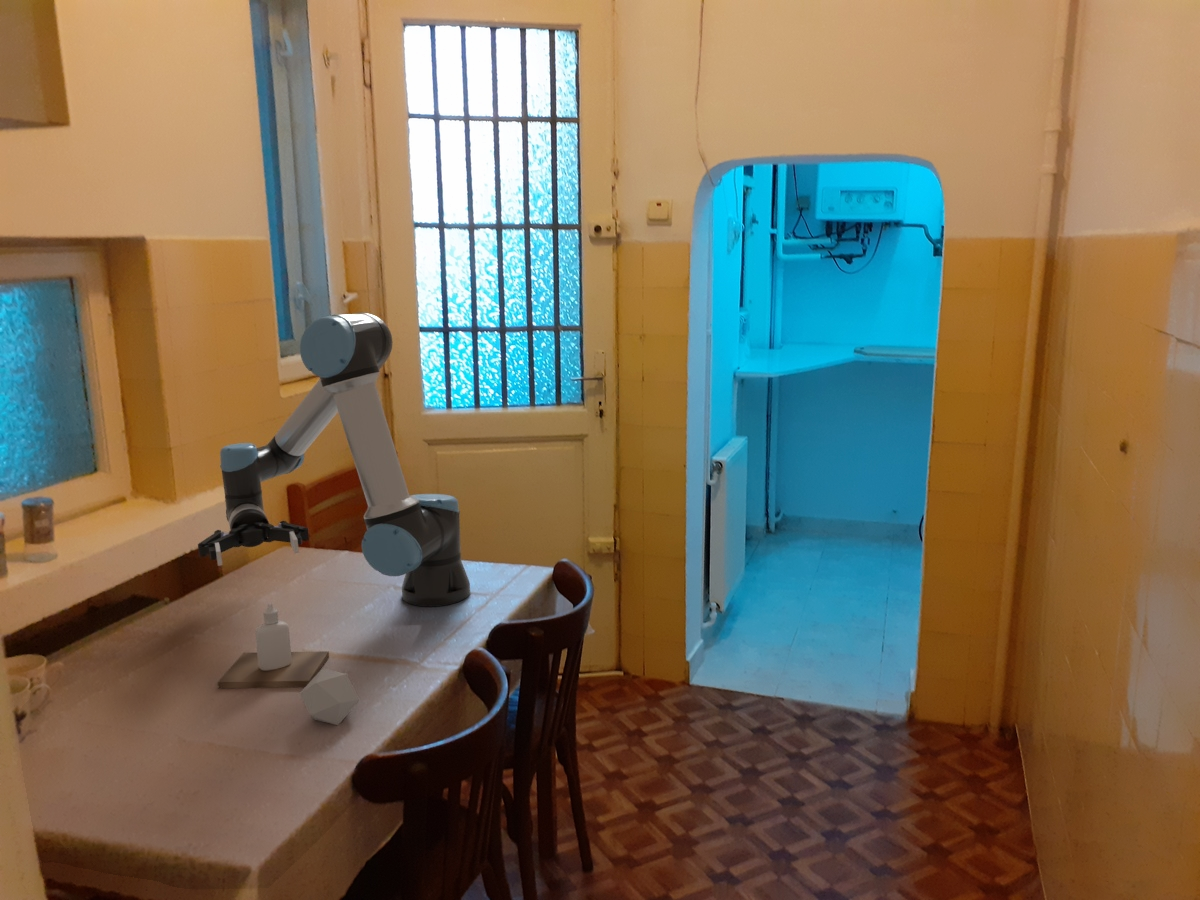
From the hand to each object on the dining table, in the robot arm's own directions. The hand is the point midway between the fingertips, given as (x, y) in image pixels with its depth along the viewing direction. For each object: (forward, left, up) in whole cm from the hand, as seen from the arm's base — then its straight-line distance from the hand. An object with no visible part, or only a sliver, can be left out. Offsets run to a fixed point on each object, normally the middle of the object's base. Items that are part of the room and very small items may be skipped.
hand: (258, 552), depth 164 cm
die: (-20, +26, -20) cm, 38 cm away
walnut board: (-5, +9, -20) cm, 22 cm away
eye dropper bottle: (-5, +9, -19) cm, 22 cm away
